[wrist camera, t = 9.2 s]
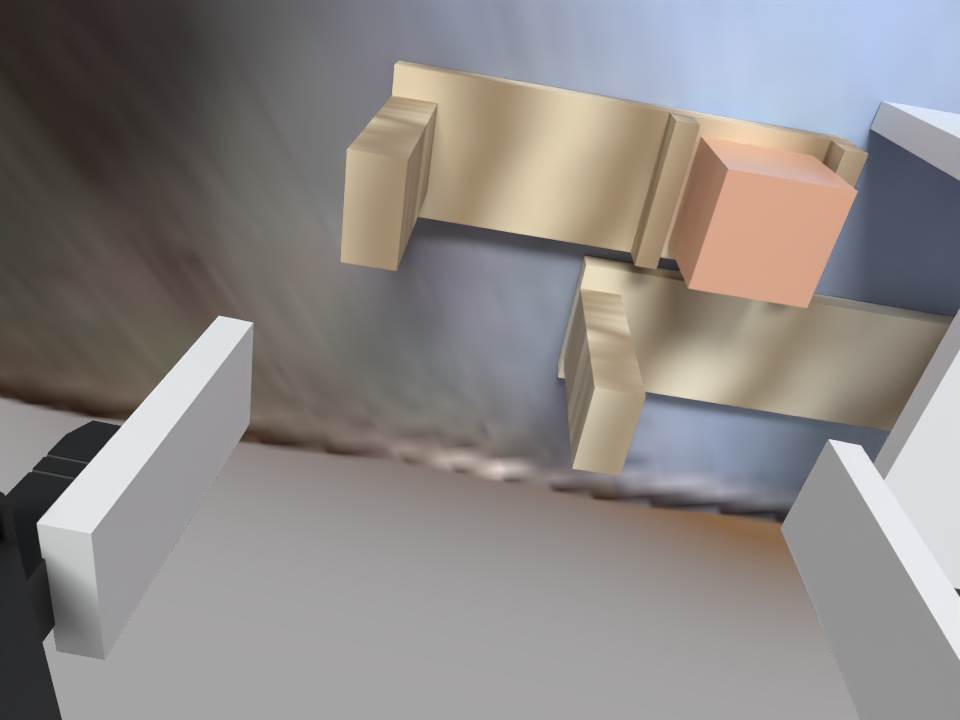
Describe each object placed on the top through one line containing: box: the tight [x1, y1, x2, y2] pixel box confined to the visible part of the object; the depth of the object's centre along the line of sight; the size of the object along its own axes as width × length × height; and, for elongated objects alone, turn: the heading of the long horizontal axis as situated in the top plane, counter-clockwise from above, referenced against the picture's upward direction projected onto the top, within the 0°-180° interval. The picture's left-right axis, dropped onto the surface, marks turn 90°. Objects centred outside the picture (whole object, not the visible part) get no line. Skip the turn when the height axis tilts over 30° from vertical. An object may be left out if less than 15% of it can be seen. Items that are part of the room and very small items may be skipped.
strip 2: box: [557, 256, 955, 476], centre depth 33 cm, size 20×6×10 cm, turn 81°
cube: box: [668, 136, 858, 308], centre depth 31 cm, size 5×5×5 cm
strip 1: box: [341, 61, 869, 271], centre depth 29 cm, size 20×6×10 cm, turn 81°
